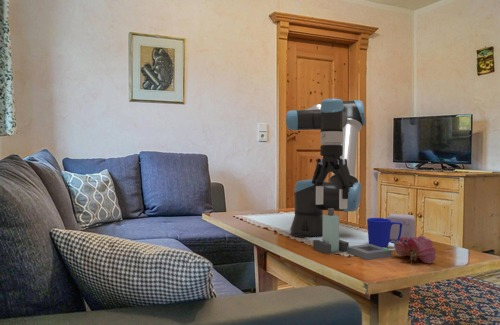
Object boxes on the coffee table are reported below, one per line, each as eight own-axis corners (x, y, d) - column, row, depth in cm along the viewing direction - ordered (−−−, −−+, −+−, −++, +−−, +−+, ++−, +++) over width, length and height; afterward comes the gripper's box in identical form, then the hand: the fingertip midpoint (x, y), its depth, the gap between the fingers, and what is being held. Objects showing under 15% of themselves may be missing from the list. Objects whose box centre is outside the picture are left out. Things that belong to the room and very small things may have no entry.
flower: (404, 266, 130) (420, 240, 131) (427, 277, 120) (443, 250, 121) (382, 248, 126) (398, 223, 127) (403, 259, 117) (421, 231, 118)
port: (346, 254, 131) (346, 245, 131) (370, 251, 136) (370, 242, 136) (367, 261, 122) (367, 252, 122) (391, 258, 126) (391, 249, 126)
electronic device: (386, 240, 153) (386, 215, 153) (388, 238, 158) (388, 213, 157) (413, 243, 149) (414, 216, 149) (414, 240, 153) (415, 215, 153)
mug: (403, 250, 137) (404, 222, 137) (367, 248, 139) (368, 220, 139) (399, 245, 145) (400, 218, 145) (365, 243, 147) (366, 217, 147)
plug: (322, 249, 136) (322, 207, 136) (331, 248, 137) (332, 207, 137) (329, 251, 132) (329, 209, 132) (338, 250, 134) (339, 208, 134)
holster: (313, 250, 137) (313, 240, 137) (334, 248, 140) (334, 238, 140) (326, 255, 129) (326, 245, 129) (348, 253, 133) (348, 242, 133)
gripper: (302, 145, 144) (302, 203, 144) (345, 143, 121) (344, 211, 121) (319, 145, 147) (319, 202, 147) (364, 143, 124) (364, 210, 124)
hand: (330, 206), depth 134 cm, fingers open, 13 cm apart
